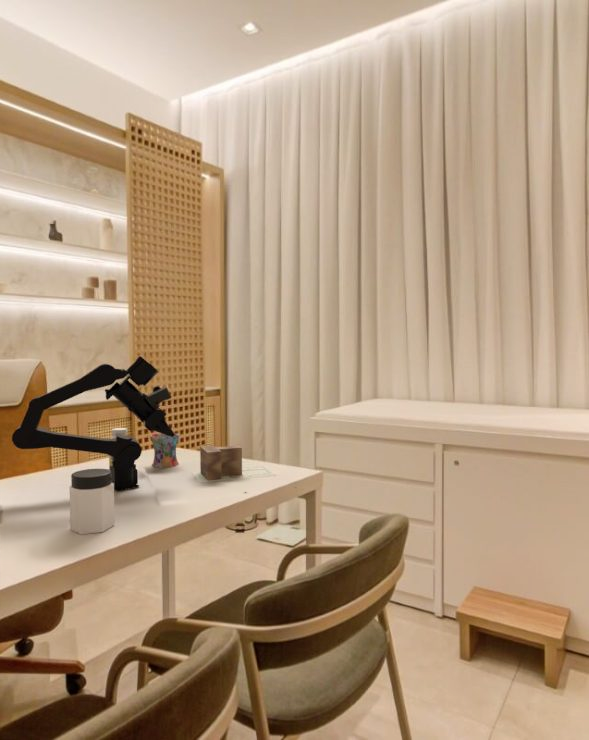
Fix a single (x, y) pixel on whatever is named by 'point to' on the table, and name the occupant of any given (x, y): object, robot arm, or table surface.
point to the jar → (91, 501)
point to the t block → (220, 461)
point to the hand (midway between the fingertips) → (173, 435)
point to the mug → (164, 450)
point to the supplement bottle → (117, 430)
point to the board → (203, 479)
